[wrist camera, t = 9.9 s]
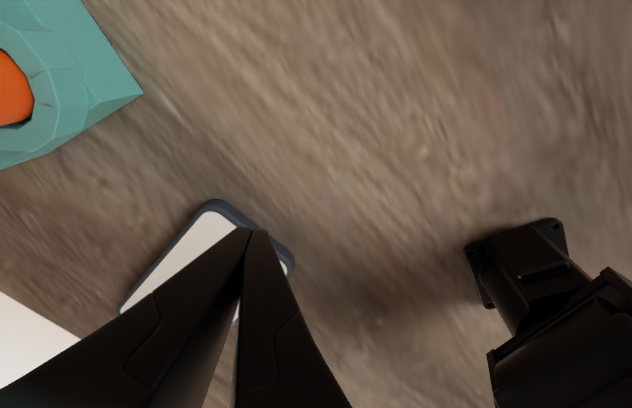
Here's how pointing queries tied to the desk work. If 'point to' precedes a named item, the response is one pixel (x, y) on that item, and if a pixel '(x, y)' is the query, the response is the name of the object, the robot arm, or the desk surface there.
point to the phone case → (197, 249)
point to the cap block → (59, 75)
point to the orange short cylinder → (13, 92)
